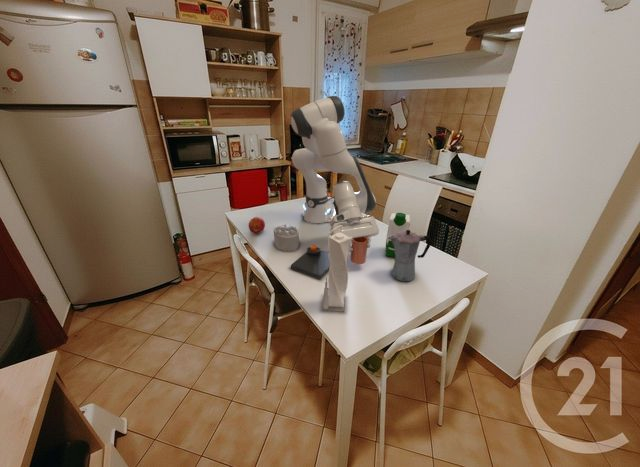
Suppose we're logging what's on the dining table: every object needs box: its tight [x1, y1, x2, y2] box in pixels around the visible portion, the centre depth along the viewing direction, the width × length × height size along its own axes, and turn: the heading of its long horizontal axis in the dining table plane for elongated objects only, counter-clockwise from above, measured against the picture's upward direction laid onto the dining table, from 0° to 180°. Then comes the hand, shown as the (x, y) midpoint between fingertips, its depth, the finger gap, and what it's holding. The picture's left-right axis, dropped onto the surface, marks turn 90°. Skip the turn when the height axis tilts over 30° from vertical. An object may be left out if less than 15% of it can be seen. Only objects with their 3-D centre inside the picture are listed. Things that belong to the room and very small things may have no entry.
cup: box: [350, 236, 368, 265], centre depth 105 cm, size 6×6×10 cm
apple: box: [248, 216, 266, 234], centre depth 134 cm, size 8×8×8 cm
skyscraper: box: [322, 225, 352, 313], centre depth 84 cm, size 8×8×28 cm
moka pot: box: [389, 229, 433, 282], centre depth 100 cm, size 10×15×20 cm, turn 88°
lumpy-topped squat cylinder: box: [273, 224, 300, 252], centre depth 123 cm, size 10×13×9 cm
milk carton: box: [385, 212, 411, 259], centre depth 114 cm, size 9×9×20 cm
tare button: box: [309, 244, 318, 252], centre depth 114 cm, size 3×3×2 cm
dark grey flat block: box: [290, 246, 330, 280], centre depth 110 cm, size 16×14×4 cm
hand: (359, 249), depth 104 cm, fingers closed on cup, 6 cm apart
